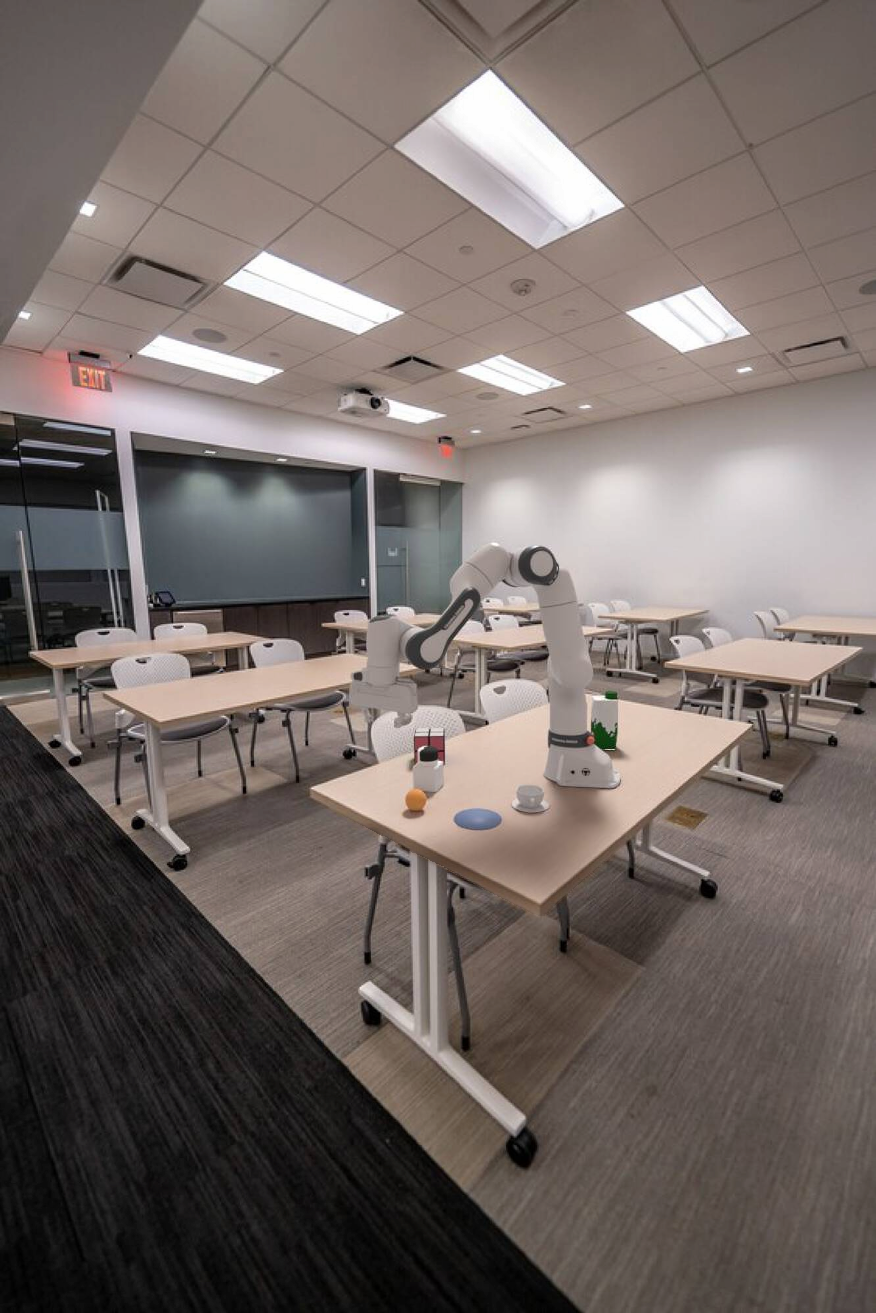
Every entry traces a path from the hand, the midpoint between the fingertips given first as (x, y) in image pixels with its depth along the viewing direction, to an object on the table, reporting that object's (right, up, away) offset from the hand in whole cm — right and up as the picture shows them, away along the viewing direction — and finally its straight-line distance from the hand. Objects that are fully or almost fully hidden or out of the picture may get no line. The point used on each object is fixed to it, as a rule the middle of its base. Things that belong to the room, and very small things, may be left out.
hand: (383, 724), depth 149 cm
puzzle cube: (+12, -17, +35) cm, 41 cm away
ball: (+9, -19, -5) cm, 22 cm away
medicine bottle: (+12, -20, +12) cm, 26 cm away
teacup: (+40, -22, -3) cm, 45 cm away
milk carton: (+74, -14, +45) cm, 88 cm away
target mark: (+25, -23, -10) cm, 35 cm away
